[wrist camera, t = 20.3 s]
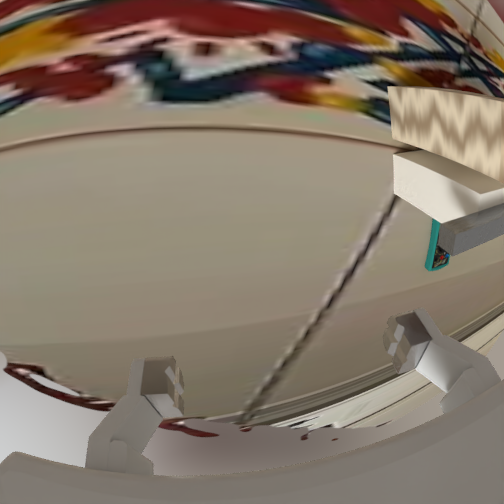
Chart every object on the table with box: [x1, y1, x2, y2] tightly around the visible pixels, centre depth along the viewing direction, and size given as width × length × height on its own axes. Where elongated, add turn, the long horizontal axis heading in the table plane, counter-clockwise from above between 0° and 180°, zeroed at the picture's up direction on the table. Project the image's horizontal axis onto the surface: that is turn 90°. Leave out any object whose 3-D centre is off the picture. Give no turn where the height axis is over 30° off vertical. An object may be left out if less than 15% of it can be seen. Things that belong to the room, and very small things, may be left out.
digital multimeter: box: [425, 218, 450, 271], centre depth 60 cm, size 7×15×3 cm, turn 8°
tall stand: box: [387, 86, 504, 183], centre depth 34 cm, size 10×12×26 cm
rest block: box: [393, 150, 504, 223], centre depth 41 cm, size 8×10×22 cm
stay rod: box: [438, 203, 504, 256], centre depth 31 cm, size 3×20×3 cm, turn 101°
